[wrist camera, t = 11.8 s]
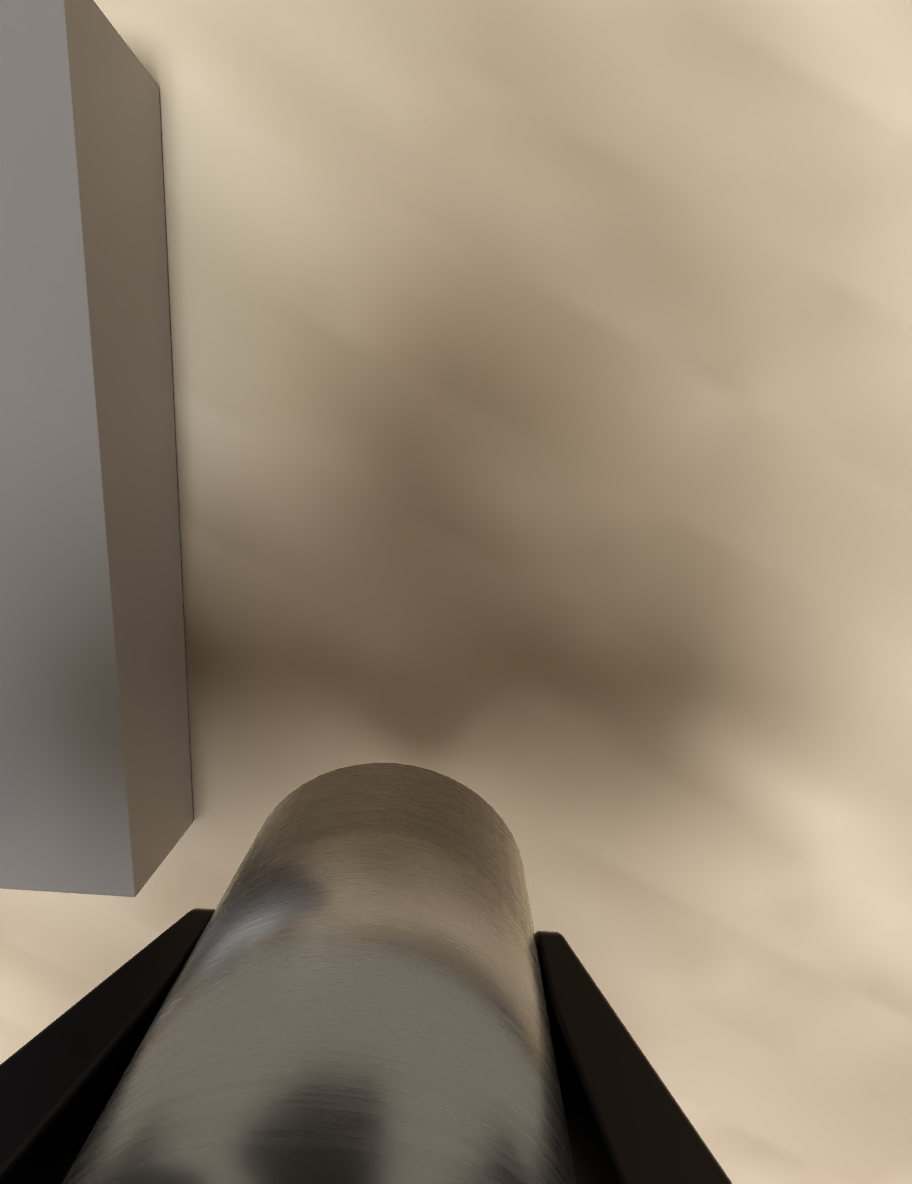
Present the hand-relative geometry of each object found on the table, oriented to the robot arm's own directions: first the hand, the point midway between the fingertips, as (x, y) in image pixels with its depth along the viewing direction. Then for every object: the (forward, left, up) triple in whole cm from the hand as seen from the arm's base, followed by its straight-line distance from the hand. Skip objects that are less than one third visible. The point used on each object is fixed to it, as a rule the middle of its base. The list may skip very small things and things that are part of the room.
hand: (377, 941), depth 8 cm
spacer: (0, 0, -1) cm, 1 cm away
